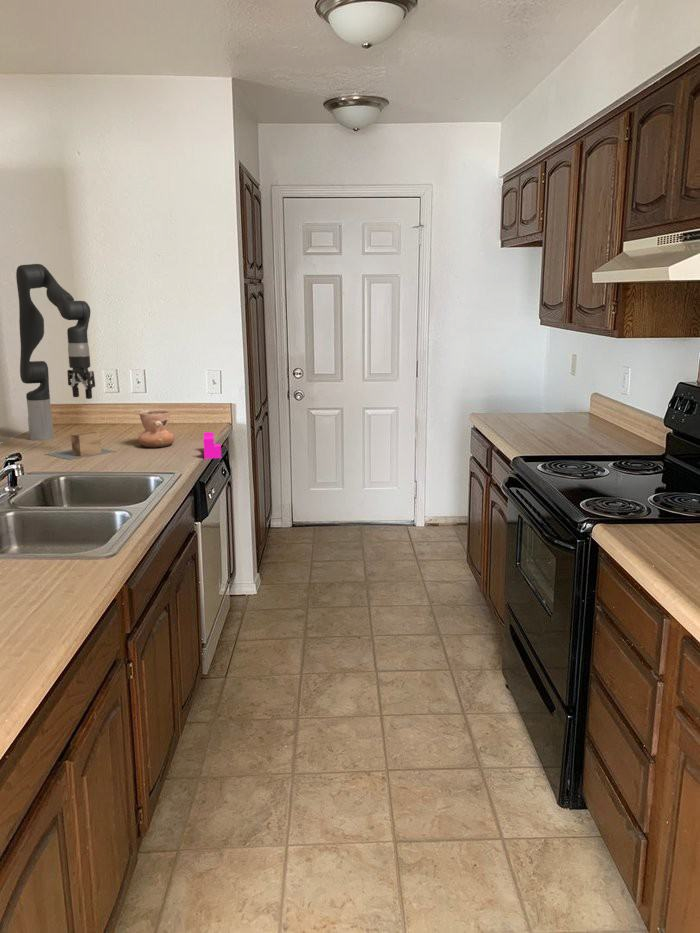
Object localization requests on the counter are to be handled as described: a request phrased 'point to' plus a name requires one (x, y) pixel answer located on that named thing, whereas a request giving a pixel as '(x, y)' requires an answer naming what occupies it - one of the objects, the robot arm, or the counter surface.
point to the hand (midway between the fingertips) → (82, 397)
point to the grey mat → (69, 455)
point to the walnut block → (86, 443)
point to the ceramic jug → (155, 429)
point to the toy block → (211, 447)
